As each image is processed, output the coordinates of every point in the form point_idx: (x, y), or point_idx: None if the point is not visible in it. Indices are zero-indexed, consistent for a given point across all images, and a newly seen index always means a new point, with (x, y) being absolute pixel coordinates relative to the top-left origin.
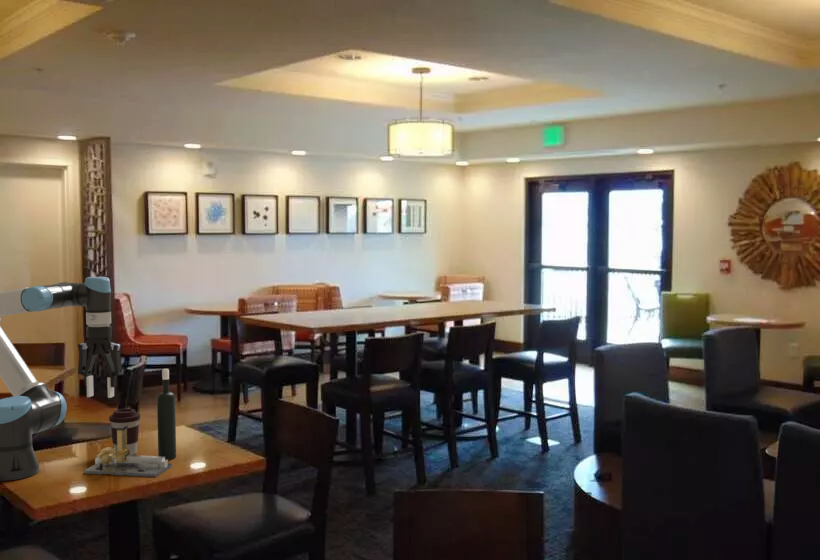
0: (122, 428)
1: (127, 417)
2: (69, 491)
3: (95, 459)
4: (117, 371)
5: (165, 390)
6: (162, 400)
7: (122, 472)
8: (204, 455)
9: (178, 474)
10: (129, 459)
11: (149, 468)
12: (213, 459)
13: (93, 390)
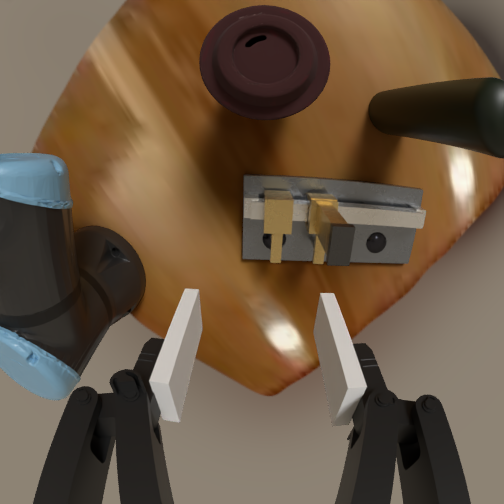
0: (349, 261)
1: (299, 97)
2: (273, 346)
3: (245, 216)
4: (416, 449)
5: None
6: (494, 156)
7: None
8: None
9: (439, 239)
10: None
11: (387, 229)
12: None
13: (192, 307)
